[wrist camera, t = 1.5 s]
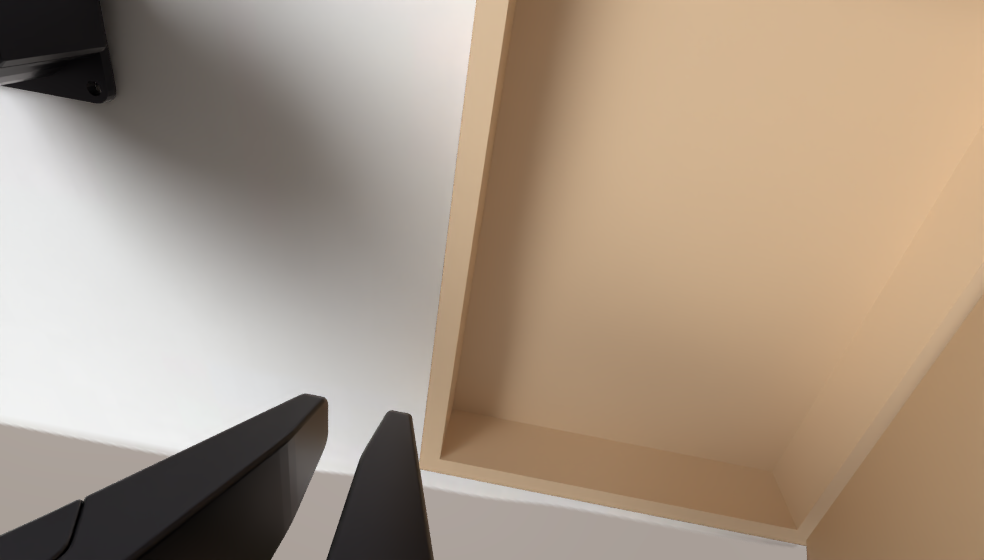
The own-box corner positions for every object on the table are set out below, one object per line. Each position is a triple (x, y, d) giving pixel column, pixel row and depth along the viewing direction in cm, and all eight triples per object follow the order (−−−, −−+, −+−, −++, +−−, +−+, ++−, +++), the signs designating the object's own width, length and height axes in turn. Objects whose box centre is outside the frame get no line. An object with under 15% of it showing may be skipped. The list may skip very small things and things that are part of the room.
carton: (435, 409, 25) (418, 468, 22) (520, -210, 14) (508, -262, 11) (778, 476, 25) (808, 546, 22) (1136, -105, 14) (1301, -129, 11)
